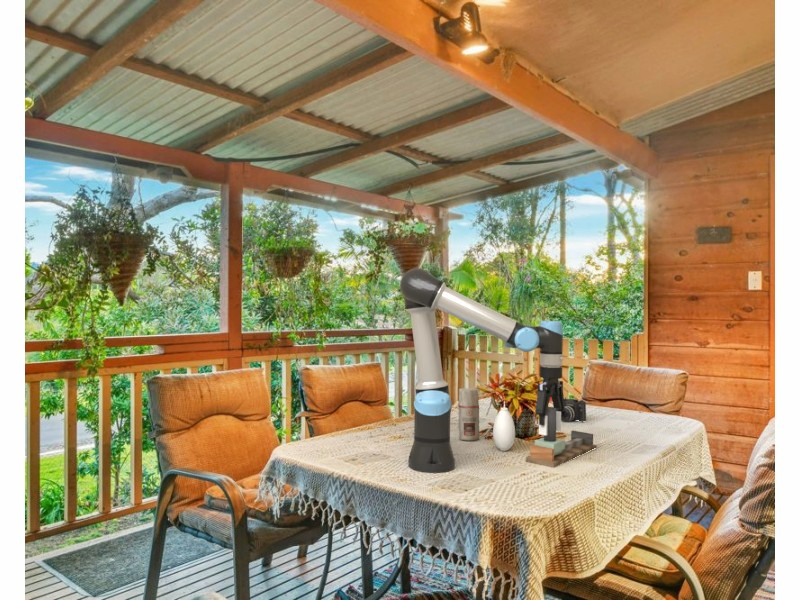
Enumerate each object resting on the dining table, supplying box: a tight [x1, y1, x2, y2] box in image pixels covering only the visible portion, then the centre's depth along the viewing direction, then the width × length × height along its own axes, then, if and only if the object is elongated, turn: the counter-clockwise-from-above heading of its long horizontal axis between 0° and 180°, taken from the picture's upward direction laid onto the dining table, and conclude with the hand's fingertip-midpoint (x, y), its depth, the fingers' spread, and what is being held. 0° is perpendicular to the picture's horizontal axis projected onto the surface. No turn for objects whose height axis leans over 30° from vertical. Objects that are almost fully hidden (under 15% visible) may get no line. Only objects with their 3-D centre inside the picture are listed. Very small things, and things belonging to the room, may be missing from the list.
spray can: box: [458, 387, 480, 441], centre depth 218 cm, size 8×8×20 cm
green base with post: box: [534, 406, 566, 455], centre depth 189 cm, size 8×7×15 cm
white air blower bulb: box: [492, 400, 516, 452], centre depth 202 cm, size 8×8×18 cm
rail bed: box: [525, 430, 598, 468], centre depth 197 cm, size 34×10×6 cm, turn 138°
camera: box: [561, 396, 587, 422], centre depth 258 cm, size 14×11×10 cm
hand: (550, 432), depth 189 cm, fingers open, 9 cm apart
